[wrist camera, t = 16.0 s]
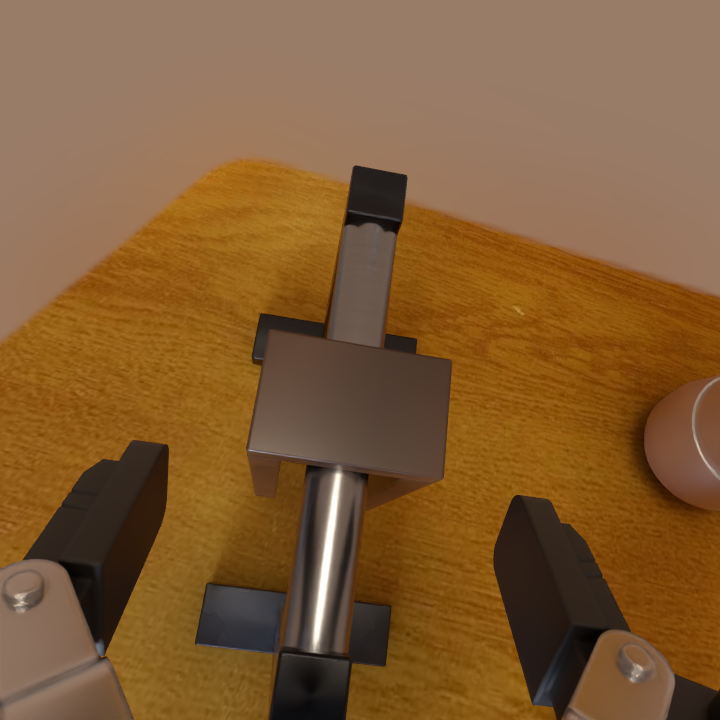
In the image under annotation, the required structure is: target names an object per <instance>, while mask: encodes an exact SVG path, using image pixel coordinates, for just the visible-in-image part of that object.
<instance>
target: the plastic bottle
mask: <svg viewBox="0 0 720 720" xmlns="http://www.w3.org/2000/svg"><path fill="white" fill-rule="evenodd" d="M644 448H645V454H646V458H647V460H648V463H649V466H650V467H651V469H652V471H653V473H654V474H655V476H656V477H657V478H658V479H659V481H660V482H661V483H662V484H663V485H664V486H665V487H666V488H667V489H668V490H669V491H670V492H671V493H672V494H673V495H674V496H676V497H678V498H679V499H681V500H682V501H684V502H686V503H688V504H690V505H693V506H695V507H698V508H703V509H708V510H716V511H720V375H719V376H713V377H708V378H704V379H700V380H695V381H691V382H689V383H686V384H684V385H682V386H680V387H679V388H677V389H676V390H674V391H673V392H672V393H670V394H669V395H668V396H666V397H665V398H664V399H662V400H661V401H659V402H658V403H657V404H656V406H655V407H654V408H653V409H652V411H651V413H650V415H649V417H648V419H647V422H646V426H645V430H644Z"/></svg>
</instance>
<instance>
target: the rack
mask: <svg viewBox="0 0 720 720" xmlns="http://www.w3.org/2000/svg"><path fill="white" fill-rule="evenodd" d="M406 186H407V175H404V174H398V173H392V172H387V171H382V170H377V169H372V168H366V167H361V166H354V167H353V170H352V176H351V181H350V187H349V192H348V197H347V203H346V208H345V214H344V219H343V224H342V230H341V235H340V241H339V246H338V251H337V257H336V262H335V268H334V273H333V278H332V284H331V289H330V295H329V300H328V306H327V311H326V316H325V322H324V324H323V323H317V322H311V321H305V320H299V319H293V318H287V317H281V316H275V315H269V314H262V313H261V314H260V317H259V322H258V327H257V332H256V337H255V343H254V348H253V353H252V362H253V364H258V365H262V363H263V358H264V352H265V347H266V342H267V337H268V332H269V330H270V329H274V330H280V331H286V332H291V333H297V334H303V335H309V336H315V337H321V338H326V339H332V340H338V341H344V342H350V343H356V344H361V345H367V346H373V347H379V348H385V349H391V350H396V351H402V352H408V353H414V354H416V346H417V339H415V338H408V337H402V336H396V335H390V334H385V333H386V325H387V316H388V308H389V299H390V290H391V282H392V273H393V265H394V256H395V248H396V239H397V235H398V232H399V229H400V227H401V224H402V221H403V213H404V204H405V196H406ZM368 479H369V474H367V473H361V472H354V471H347V470H340V469H333V468H327V467H320V466H313V465H307V466H306V473H305V479H304V486H303V492H302V499H301V505H300V512H299V518H298V525H297V531H296V538H295V544H294V551H293V558H292V564H291V571H290V577H289V584H288V590H287V591H281V590H273V589H265V588H257V587H249V586H241V585H233V584H225V583H217V582H209V583H207V585H206V590H205V595H204V600H203V605H202V610H201V615H200V620H199V625H198V630H197V635H196V640H195V644H196V645H202V646H211V647H219V648H228V649H237V650H245V651H254V652H262V653H271V654H273V662H272V674H271V686H270V698H269V710H268V720H346V712H347V703H348V695H349V686H350V677H351V668H352V663H357V664H366V665H374V666H383V667H384V666H386V658H387V647H388V637H389V626H390V616H391V606H390V605H388V604H384V603H376V602H368V601H360V600H354V599H355V590H356V582H357V573H358V564H359V556H360V547H361V539H362V530H363V522H364V513H365V505H366V496H367V487H368Z"/></svg>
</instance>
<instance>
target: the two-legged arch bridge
mask: <svg viewBox="0 0 720 720" xmlns="http://www.w3.org/2000/svg"><path fill="white" fill-rule="evenodd" d="M451 370H452V361H451V360H449V359H443V358H437V357H431V356H426V355H420V354H414V353H408V352H402V351H396V350H391V349H385V348H379V347H373V346H367V345H361V344H356V343H350V342H344V341H338V340H332V339H326V338H321V337H315V336H309V335H303V334H297V333H291V332H286V331H280V330H274V329H270V330H269V332H268V337H267V342H266V347H265V352H264V358H263V363H262V368H261V374H260V379H259V384H258V389H257V395H256V400H255V405H254V410H253V416H252V421H251V426H250V431H249V437H248V442H247V447H246V449H247V455H248V460H249V465H250V470H251V475H252V481H253V486H254V491H255V495H256V496H262V497H269V498H274V497H275V493H276V487H277V481H278V476H279V470H280V464H281V461H286V462H293V463H300V464H306V465H313V466H320V467H327V468H333V469H340V470H347V471H354V472H361V473H367V474H369V479H368V487H367V496H366V505H365V511H367V510H369V509H372V508H374V507H377V506H379V505H381V504H384V503H386V502H389V501H391V500H394V499H396V498H398V497H401V496H403V495H406V494H408V493H411V492H413V491H415V490H418V489H420V488H423V487H425V486H428V485H430V484H432V483H435V482H437V481H440V480H442V479H443V478H444V466H445V452H446V438H447V425H448V411H449V398H450V384H451Z"/></svg>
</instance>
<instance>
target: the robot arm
mask: <svg viewBox="0 0 720 720" xmlns="http://www.w3.org/2000/svg"><path fill="white" fill-rule="evenodd" d="M168 459H169V448H168V445H166V444H159V443H152V442H145V441H138V440H133V441H132V442H131V443H130V444H129V446H128V447H127V449H126V451H125V452H124V454H123V455H122V457H121V459H120V460H119V461H114V460H106V459H103V460H101V461H100V462H98V463H97V464H95V465H94V466H92V467H91V468H89V469H88V470H86V471H85V472H83V474H82V475H81V477H80V478H79V480H78V481H77V483H76V484H75V485H74V487H73V488H72V491H71V493H69V494H68V496H67V497H66V498H65V500H64V501H63V503H62V506H61V507H59V508H58V510H57V511H56V513H55V514H54V516H53V517H52V519H51V520H50V521H49V523H48V524H47V526H46V527H45V529H44V530H43V532H42V533H41V534H40V536H39V537H38V539H37V540H36V542H35V543H34V544H33V546H32V547H31V549H30V550H29V552H28V553H27V555H26V556H25V557H24V559H23V560H22V561H19V562H15V563H13V564H10V565H7V566H5V567H3V568H1V569H0V720H134V718H133V715H132V713H131V710H130V708H129V705H128V703H127V700H126V698H125V695H124V693H123V690H122V688H121V685H120V683H119V680H118V677H117V675H116V672H115V670H114V668H113V665H112V663H111V661H110V660H109V658H108V657H106V656H105V657H103V658H101V657H100V655H101V656H104V655H105V653H106V650H107V648H108V646H109V644H110V641H111V639H112V637H113V634H114V632H115V630H116V627H117V625H118V623H119V621H120V618H121V616H122V614H123V611H124V609H125V607H126V605H127V602H128V600H129V598H130V595H131V593H132V591H133V589H134V586H135V584H136V582H137V579H138V577H139V575H140V573H141V570H142V568H143V566H144V563H145V561H146V559H147V557H148V554H149V552H150V550H151V547H152V545H153V543H154V541H155V538H156V536H157V534H158V531H159V529H160V527H161V524H162V521H163V517H164V513H165V509H166V502H167V484H168ZM493 560H494V570H495V574H496V578H497V581H498V585H499V588H500V592H501V596H502V599H503V603H504V606H505V610H506V613H507V617H508V620H509V624H510V627H511V631H512V634H513V638H514V641H515V645H516V648H517V652H518V655H519V659H520V663H521V666H522V670H523V673H524V677H525V680H526V684H527V687H528V691H529V694H530V698H531V701H532V705H540V706H549V707H553V708H554V711H555V714H556V718H557V719H556V720H720V689H719V691H715V690H713V689H710V688H708V687H705V686H703V685H700V684H698V683H695V682H693V681H690V680H688V679H685V678H683V677H680V676H678V675H676V674H674V673H673V671H672V669H671V667H670V665H669V663H668V662H667V660H666V659H665V657H664V656H663V655H662V654H661V653H660V652H659V651H658V650H657V649H656V648H655V647H654V646H653V645H652V644H650V643H649V642H648V641H646V640H645V639H643V638H641V637H639V636H637V635H635V634H633V633H631V631H630V629H629V627H628V625H627V623H626V621H625V619H624V617H623V615H622V613H621V611H620V609H619V607H618V605H617V603H616V601H615V599H614V597H613V595H612V593H611V591H610V589H609V587H608V585H607V583H606V581H605V579H602V573H601V571H600V569H599V567H598V565H597V564H596V563H595V559H594V557H593V555H592V553H591V551H590V549H589V547H588V545H587V543H586V541H585V540H584V539H583V538H582V537H581V536H580V535H579V534H578V533H577V532H576V531H575V530H574V529H573V528H572V527H571V526H570V525H569V524H564V523H561V522H560V520H559V518H558V516H557V514H556V512H555V509H554V507H553V505H552V503H551V502H550V500H548V499H543V498H536V497H529V496H522V495H516V496H514V497H513V499H512V501H511V503H510V506H509V509H508V511H507V514H506V517H505V519H504V522H503V525H502V527H501V530H500V533H499V536H498V538H497V541H496V544H495V548H494V558H493Z"/></svg>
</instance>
